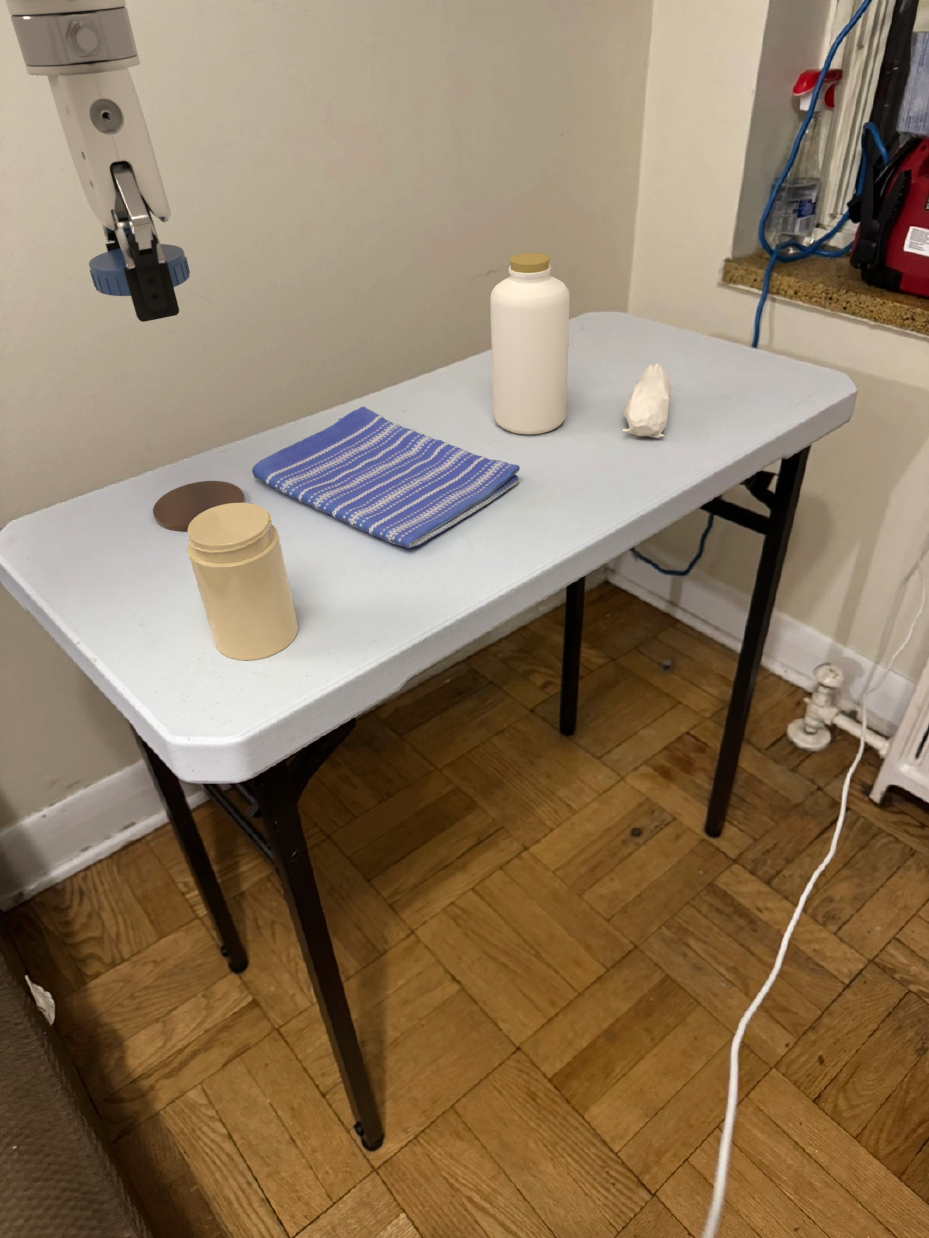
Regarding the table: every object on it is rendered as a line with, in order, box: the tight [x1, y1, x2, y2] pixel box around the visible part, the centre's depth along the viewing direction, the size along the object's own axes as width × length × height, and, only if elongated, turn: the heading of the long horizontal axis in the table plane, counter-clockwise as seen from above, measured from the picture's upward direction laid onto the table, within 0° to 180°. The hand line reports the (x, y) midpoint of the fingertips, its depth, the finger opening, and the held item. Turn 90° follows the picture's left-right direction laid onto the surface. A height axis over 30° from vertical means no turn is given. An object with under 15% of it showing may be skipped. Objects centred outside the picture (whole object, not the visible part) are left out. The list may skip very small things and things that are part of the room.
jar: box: [187, 502, 299, 661], centre depth 68 cm, size 7×7×11 cm
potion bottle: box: [489, 252, 571, 435], centre depth 94 cm, size 8×8×18 cm
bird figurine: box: [621, 362, 672, 439], centre depth 96 cm, size 5×7×10 cm
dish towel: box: [251, 406, 521, 549], centre depth 89 cm, size 17×24×3 cm
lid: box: [88, 243, 191, 297], centre depth 69 cm, size 7×7×2 cm
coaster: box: [152, 480, 246, 532], centre depth 87 cm, size 9×9×1 cm
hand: (148, 302), depth 70 cm, fingers closed on lid, 7 cm apart
